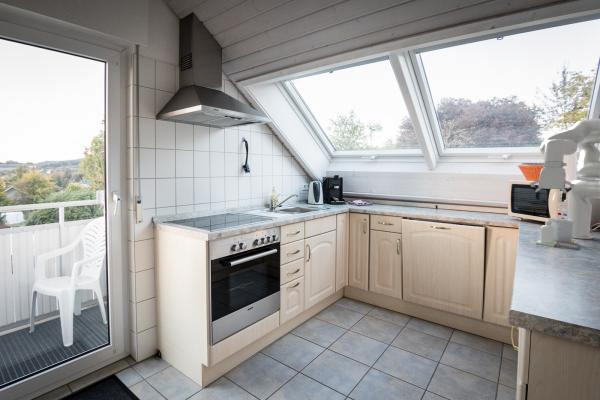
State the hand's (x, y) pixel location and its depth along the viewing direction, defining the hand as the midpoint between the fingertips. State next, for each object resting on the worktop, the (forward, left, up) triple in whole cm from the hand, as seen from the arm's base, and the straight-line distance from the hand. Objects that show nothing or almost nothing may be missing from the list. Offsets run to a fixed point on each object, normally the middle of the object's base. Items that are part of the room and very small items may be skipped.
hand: (550, 200), depth 159 cm
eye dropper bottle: (0, 0, -21) cm, 21 cm away
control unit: (-10, +4, -22) cm, 24 cm away
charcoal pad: (0, +8, -22) cm, 23 cm away
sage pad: (0, 0, -22) cm, 22 cm away
